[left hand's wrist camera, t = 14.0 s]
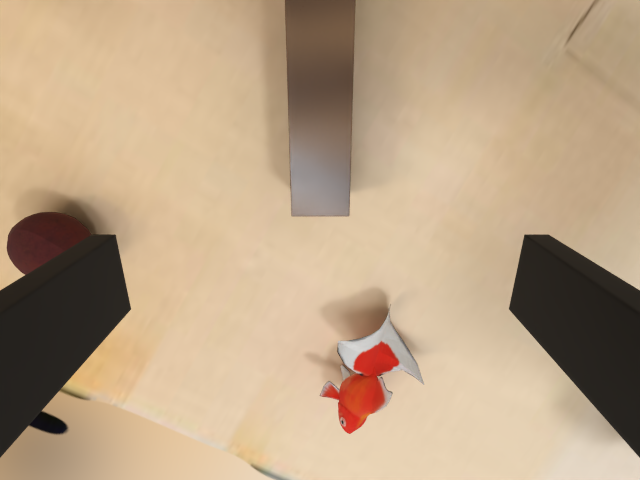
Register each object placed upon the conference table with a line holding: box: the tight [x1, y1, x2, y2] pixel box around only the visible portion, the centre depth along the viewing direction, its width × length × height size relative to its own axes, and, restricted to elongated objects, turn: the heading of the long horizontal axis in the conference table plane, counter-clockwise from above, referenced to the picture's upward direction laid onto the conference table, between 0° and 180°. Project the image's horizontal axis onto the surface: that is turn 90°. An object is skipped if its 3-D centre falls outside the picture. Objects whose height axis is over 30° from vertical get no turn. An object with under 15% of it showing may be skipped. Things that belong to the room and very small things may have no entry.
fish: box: [320, 304, 424, 434], centre depth 44 cm, size 11×16×10 cm
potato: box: [7, 212, 91, 275], centre depth 39 cm, size 7×8×7 cm
